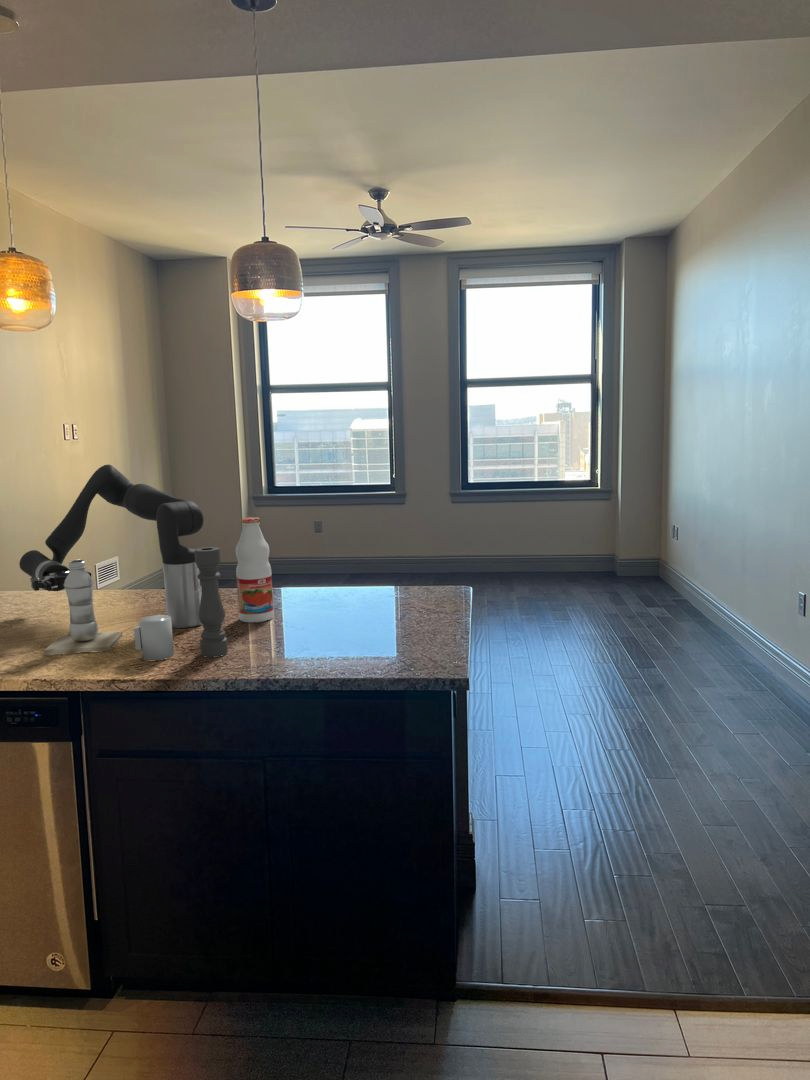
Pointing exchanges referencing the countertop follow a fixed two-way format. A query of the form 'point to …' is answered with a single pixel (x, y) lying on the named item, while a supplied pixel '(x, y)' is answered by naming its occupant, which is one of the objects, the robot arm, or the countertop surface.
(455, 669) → the countertop surface
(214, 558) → the candle holder
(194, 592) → the robot arm
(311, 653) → the countertop surface
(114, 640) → the plain beige board
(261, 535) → the fruit juice
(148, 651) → the grey mug
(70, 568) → the plastic bottle
